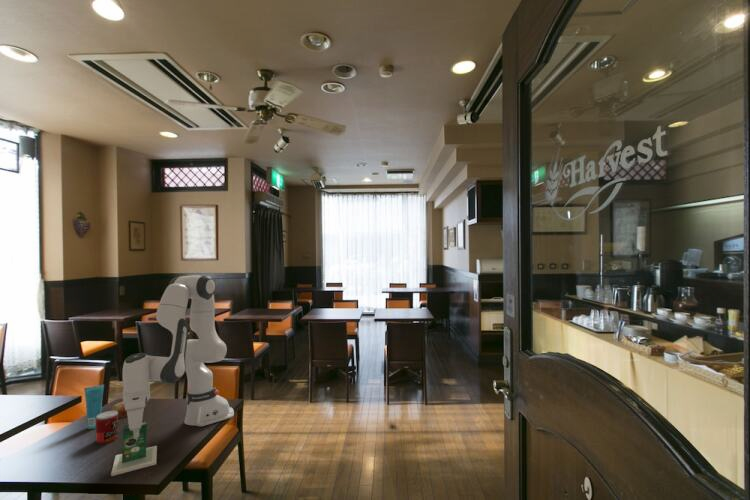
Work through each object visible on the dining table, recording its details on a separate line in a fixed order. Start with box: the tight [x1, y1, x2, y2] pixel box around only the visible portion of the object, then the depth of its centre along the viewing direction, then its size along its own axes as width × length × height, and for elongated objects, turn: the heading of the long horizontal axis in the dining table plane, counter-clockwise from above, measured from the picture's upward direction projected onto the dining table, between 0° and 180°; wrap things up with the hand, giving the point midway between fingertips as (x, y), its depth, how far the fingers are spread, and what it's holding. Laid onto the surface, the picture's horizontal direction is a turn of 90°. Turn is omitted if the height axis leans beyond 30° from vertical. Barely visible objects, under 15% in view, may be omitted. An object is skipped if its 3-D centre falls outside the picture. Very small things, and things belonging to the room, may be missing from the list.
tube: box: [83, 384, 105, 430], centre depth 167 cm, size 7×5×19 cm, turn 133°
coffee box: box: [121, 421, 148, 462], centre depth 138 cm, size 8×3×13 cm, turn 122°
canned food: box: [95, 410, 119, 445], centre depth 155 cm, size 8×8×11 cm
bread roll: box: [109, 401, 127, 419], centre depth 180 cm, size 10×10×8 cm
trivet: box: [110, 445, 158, 477], centre depth 138 cm, size 14×14×1 cm
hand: (137, 431), depth 139 cm, fingers open, 8 cm apart
